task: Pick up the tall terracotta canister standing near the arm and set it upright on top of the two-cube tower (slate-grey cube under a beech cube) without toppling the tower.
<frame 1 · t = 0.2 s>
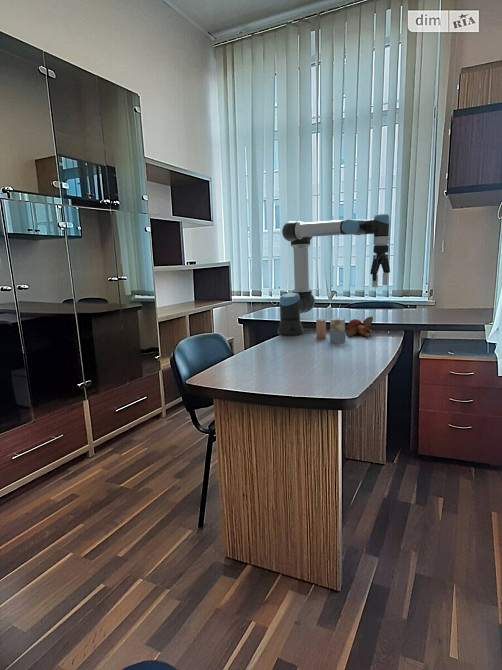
hand: (380, 286, 214), 28 cm above the table, fingers open, 13 cm apart
cube bottom: (337, 341, 213), on the table, touching cube top
cube top: (337, 330, 212), point 6 cm above the table, touching cube bottom
canister: (321, 337, 224), on the table
figurine: (359, 335, 227), on the table
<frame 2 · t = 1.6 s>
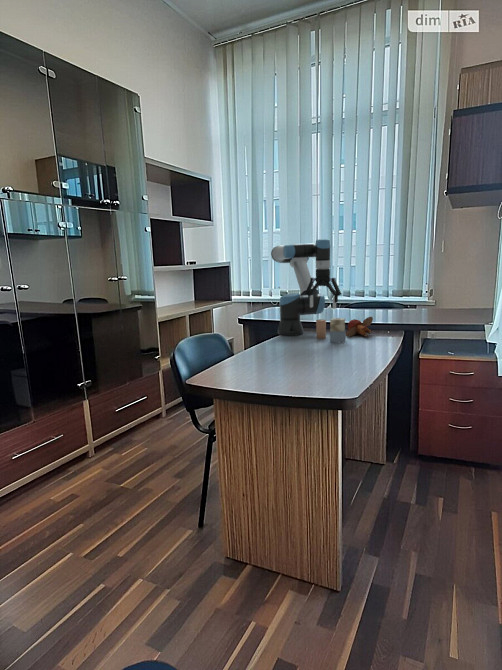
hand: (322, 307, 221), 17 cm above the table, fingers open, 13 cm apart
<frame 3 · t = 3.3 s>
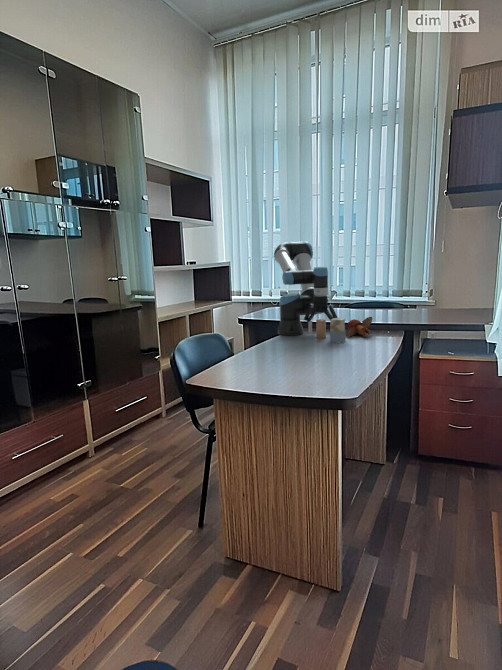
hand: (321, 333, 223), 2 cm above the table, fingers open, 13 cm apart
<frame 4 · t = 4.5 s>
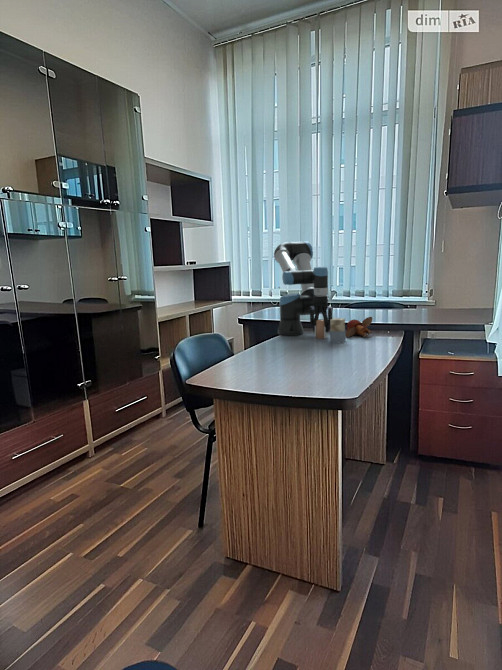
hand: (321, 337, 224), 0 cm above the table, fingers closed on canister, 5 cm apart
canister: (321, 337, 224), on the table, touching gripper
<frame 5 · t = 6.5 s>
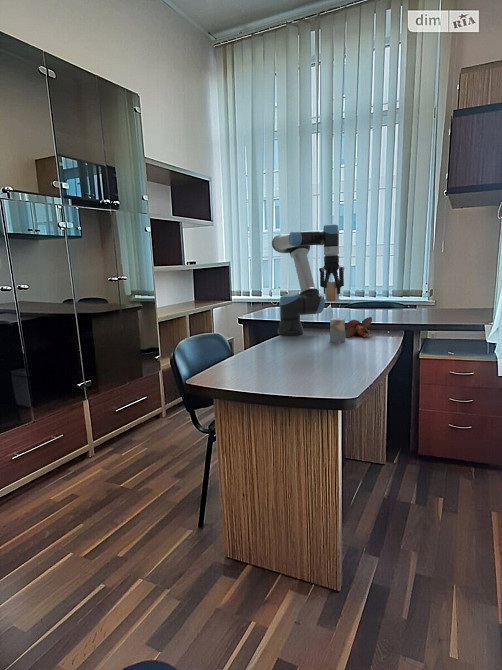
hand: (332, 300, 212), 22 cm above the table, fingers closed on canister, 5 cm apart
canister: (332, 300, 212), point 21 cm above the table, touching gripper
when the fingers open (14 cm above the table, at t = 9.0 s): canister drops 2 cm, resting on cube top.
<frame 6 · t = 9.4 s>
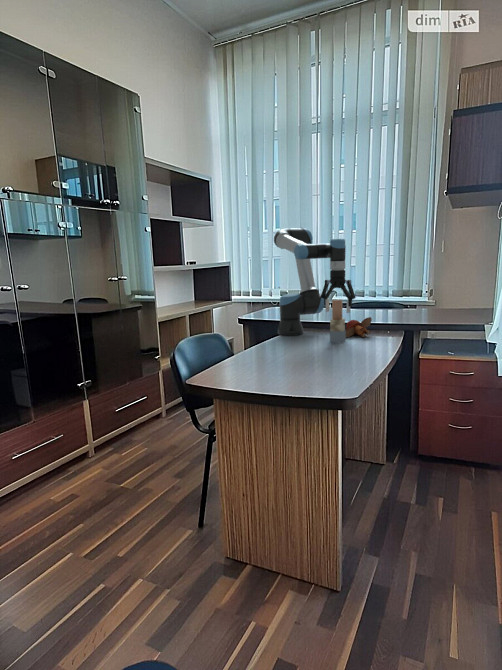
hand: (337, 312, 210), 16 cm above the table, fingers open, 11 cm apart
cube top: (337, 330, 212), point 6 cm above the table, touching canister, cube bottom
canister: (337, 319, 211), point 12 cm above the table, touching cube top
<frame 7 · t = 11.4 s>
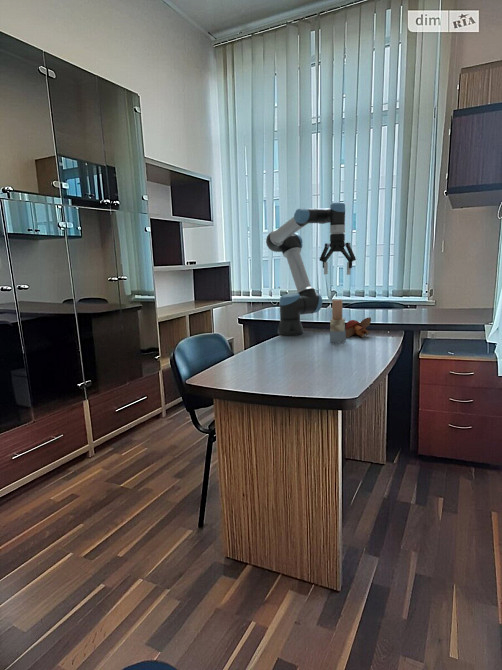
hand: (337, 274, 216), 35 cm above the table, fingers open, 13 cm apart
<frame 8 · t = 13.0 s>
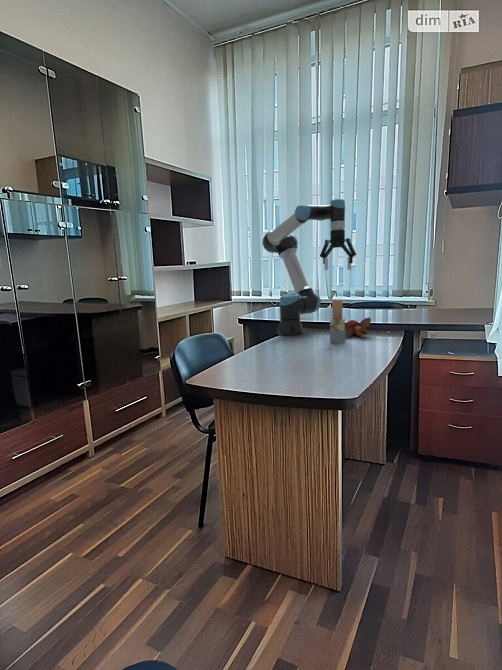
hand: (337, 270, 219), 37 cm above the table, fingers open, 13 cm apart
at the end: canister 0.2 cm off-centre on the cube top, point 6.0 cm above the cube top's base; canister tilted 0°; cube top moved 0.1 cm from its start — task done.
